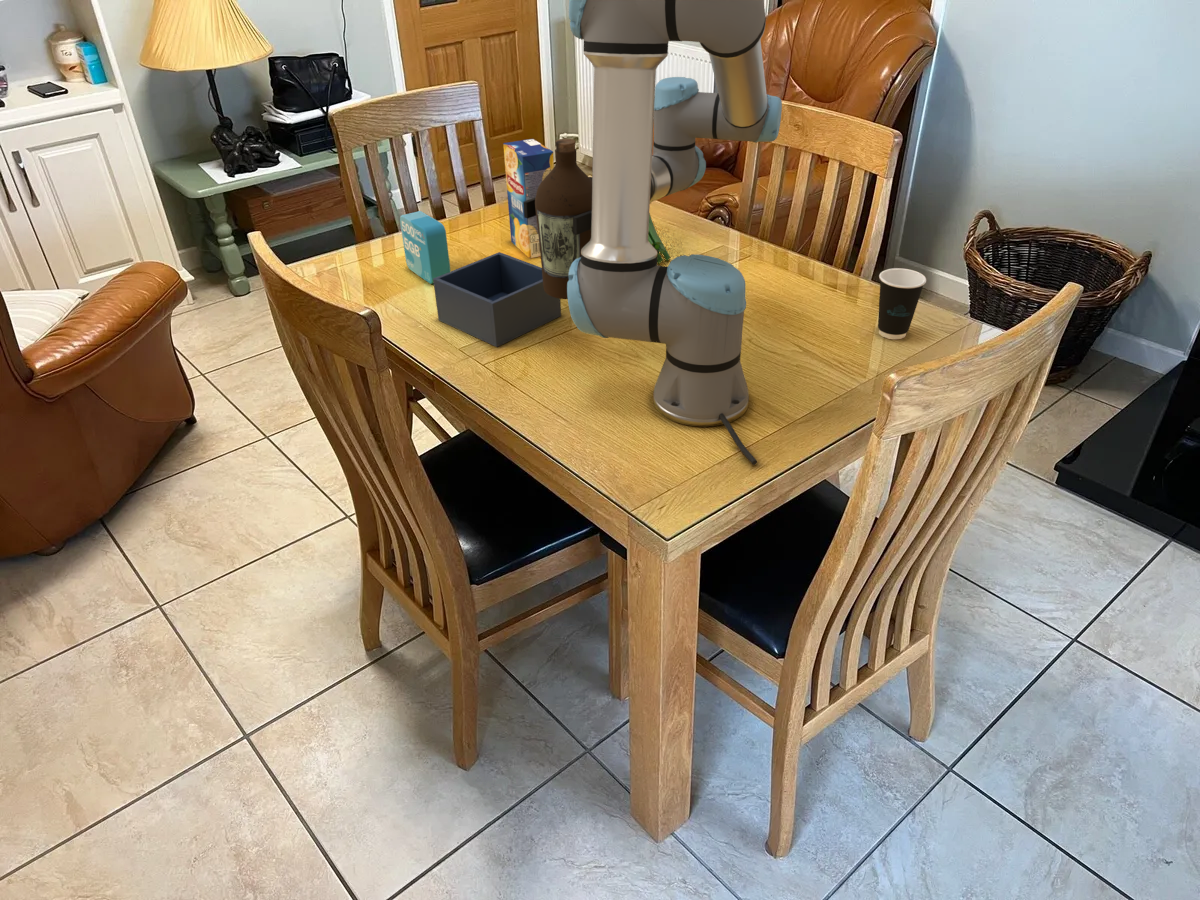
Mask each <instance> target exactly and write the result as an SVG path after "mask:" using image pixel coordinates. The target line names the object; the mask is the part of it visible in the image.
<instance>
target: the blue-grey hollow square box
mask: <svg viewBox="0 0 1200 900" xmlns="http://www.w3.org/2000/svg"><path fill="white" fill-rule="evenodd" d="M433 289H434V297H435V304H436V311H437V320H438V321H439V322H441V323H443V324H444V325H445V324H446V325H448V326H450V327H452V328H454V329H456V330H458V331H461V332H463V333H465V334H467V335H469V336H471V337H474V338H476V339H478V340H480V341H482V342H484V343H487V344H489V345H491V346H493V347H496V348H498V347H500V346H502V345H504V344H507V343H509V342H511V341H512V340H514V339H517V338H519V337H521V336H523V335H525V334H527V333H529V332H531V331H533V330H536V329H537V328H539V327H541V326H543V325H545V324H548V323H550V322H552V321H554V320H556V319H558V318H560V317H562V307H561V305H562V303H561V299H559V298H555V297H552V296H550V295H548V294H547V293H546V292H545V291H544V288H543V277H542V266H538V265H537V264H534V263H530V262H527V261H525V260H522V259H520V258H517V257H514V256H511V255H509V254H506V253H503V252H500V251H498V252H496V253H493V254H490V255H488V256H486V257H483V258H481V259H479V260H476V261H474V262H471V263H468V264H466V265H463V266H460V267H459V268H456V269H454V270H451V272H448V273H446V274H443V275H441V276H438V277H436V278H433Z"/></svg>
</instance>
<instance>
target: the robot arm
mask: <svg viewBox="0 0 1200 900" xmlns="http://www.w3.org/2000/svg"><path fill="white" fill-rule="evenodd" d="M568 19H569V21H570V22H569V28H570V31H571V33H572V35H573V36H574V37H575V38H577V39H578V40H582V41H583V47H582V48H583V49H582V51H583V55H584V56H585V57H586V59H587V60H588V61H589V62H590V64H591V65H592V66H593V107H592V108H593V110H592V111H593V113H592V115H593V116H592V120H593V121H592V167H591V168H592V170H591V171H592V173H591V176H588V177H589V178H590V179H591V180H592V210H590V211H588V212H585V213H582V214H580V215H577V216H575V217H573V234H576V235H578V234H580V233H583V232H585V231H588V230H590V229H591V240H590V241H589V242H588V243H587V244H586V245H585V246H584V247H583V248H582V249H581V257H580V258H578V259H575V260H574V261H573V263H572V264H571V266H570V269H569V274H568V277H569V281H568V283H567V297H568V299H567V304H568V310H569V314H570V317H571V320H572V322H573V324H574V326H575V327H576V328H577V329H578V331H580V332H581V333H584V334H587V335H591V336H598V337H600V338H603V339H610V338H611V339H620V340H628V341H636V342H637V341H638V342H647V343H655V344H657V343H658V344H662V345H663V344H664V345H665V359H664V361H663V364H662V366H661V369H660V371H659V374H658V376H657V378H656V381H655V384H654V388H653V396H652V397H653V399H652V401H653V405H654V408H655V409H656V411H657V412H658V413H659V414H661V415H662V416H663V417H665V418H666V419H669V420H670V421H673V422H674V423H678V424H681V425H685V426H691V427H703V428H704V427H716V426H722V425H723V426H724V427H725V429H726V430H727V432H728V433H729V435H730V437H731V438H732V440H733V442H734V443H735V445H736V447H737V448H738V450H740V452H741V453H742V454H743V455H744V457H745V458H746V459H747V460H748V461H749V462H750V464H751V465H753V466H756V465H757V464H758V460H757V459H756V458H755V457H754V456H753V454H752V453H751V452H750V451H749V450H748V448H747V447H746V446H745V445H744V443H743V442H742V440H741V439H740V437H739V436H738V434H737V432H736V430H735V429H734V427H733V426H732V425H731V423H732V422H734V421H736V420H738V419H739V418H741V417H742V416H743V415H744V414H745V413H746V412H747V410H748V407H749V401H750V394H749V388H748V384H747V380H746V376H745V372H744V369H743V367H742V362H741V356H742V345H743V344H742V342H743V329H744V317H745V316H744V315H745V310H746V308H747V300H746V279H745V277H744V275H743V273H742V272H741V271H740V270H739V268H736V267H735V266H734V265H733V264H731V263H730V262H728V261H726V260H723V259H721V258H718V257H715V256H710V255H704V254H689V255H686V254H683V255H679V256H676V257H674V258H673V259H672V260H671V261H669V264H668V265H667V266H664V265H659V264H658V263H657V250H656V249H655V248H654V247H653V246H652V245H651V244H650V243H649V241H648V230H649V213H650V209H651V207H650V206H651V204H652V203H653V202H655V201H657V200H660V199H663V198H664V197H668V196H670V195H673V194H676V193H678V192H682V191H685V190H688V189H689V188H690V187H693V186H694V185H696V184H698V183H699V182H700V181H701V180H702V179H703V177H704V175H705V172H706V169H707V162H706V160H705V157H704V153H703V151H702V149H700V148H699V147H698V145H696V139H710V140H721V141H737V142H748V143H749V142H751V143H755V144H756V143H772V142H774V141H776V140H777V138H778V137H779V133H780V128H781V121H782V110H783V101H782V99H781V98H780V97H779V96H776V95H771V94H767V85H766V84H767V83H766V76H765V69H764V68H765V67H764V59H763V51H762V42H761V41H762V38H763V36H764V33H765V29H766V25H767V24H766V22H767V21H766V19H767V17H766V9H765V3H764V0H568ZM670 42H695V43H699V45H700V46H701V47H702V49H703V50H704V51H705V52H706V53H707V54H708V56H709V59H710V63H711V68H712V72H713V77H714V80H715V85H716V88H717V92H703V91H699V85H698V81H697V80H695V79H694V78H691V77H686V76H670V77H666V78H665V77H664V78H662V79H660V80H659V81H658V82H657V83H656V79H657V77H656V76H657V68H658V67H659V65H661V63H662V62H663V61H665V59H666V58H667V57H668V55H669V43H670ZM523 204H524V218H527V219H528V218H531V217H533V216H536V209H535V198H532V199H529V200H526V201H524V202H523Z"/></svg>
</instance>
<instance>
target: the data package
mask: <svg viewBox="0 0 1200 900" xmlns="http://www.w3.org/2000/svg"><path fill="white" fill-rule="evenodd" d="M399 223H400V224H399V225H400V230H401V231H400V232H401V235H402V236H401V237H402V238H401V239H402V244H403V250H404V257H405V263H406V266H407V268H408V270H410V271H411V272H412V273H414V274H415V275H417V276H418V277H420V278H421V279H422V280H424V281H425V282H427V283H429V284H431V285H432V284H433V285H434V283H433V278H436V277H438V276H441V275H443V274H446V273H448V272H451V271H452V270H451V263H450V254H449V246H448V238H447V231H446V227H445V226H444V224H443V223H442V222H440V221H438V219H435V218H433V216H430V215H428V214H426V213H425V212H423V211H422V210H418V211H413V212H410V213H405V214H401V215H400V217H399Z"/></svg>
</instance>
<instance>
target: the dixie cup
mask: <svg viewBox="0 0 1200 900" xmlns="http://www.w3.org/2000/svg"><path fill="white" fill-rule="evenodd" d="M878 277H879V281H880V282H879V298H878V299H879V300H878V318H877V328H878V334H879V336H881V337H883V338H884V339H889V340H901V339H904V338H905V337H906V336H907V333H908V332H909V331H910V327H911V325H912V322H913V318H914V316H915V313H916V309H917V307H918V303H919V300H920V297H921V294H922V290H923V288H924V285H925V284H926V283H927V277H926V276H925V275H924V274H922V273H921V272H920V271H919V272H918V271H916V270H913V269H910V268H909V269H908V268H900V267H899V268H898V267H893V268H887V269H885V270H882V271H881V272H880V273H879V275H878Z"/></svg>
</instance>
